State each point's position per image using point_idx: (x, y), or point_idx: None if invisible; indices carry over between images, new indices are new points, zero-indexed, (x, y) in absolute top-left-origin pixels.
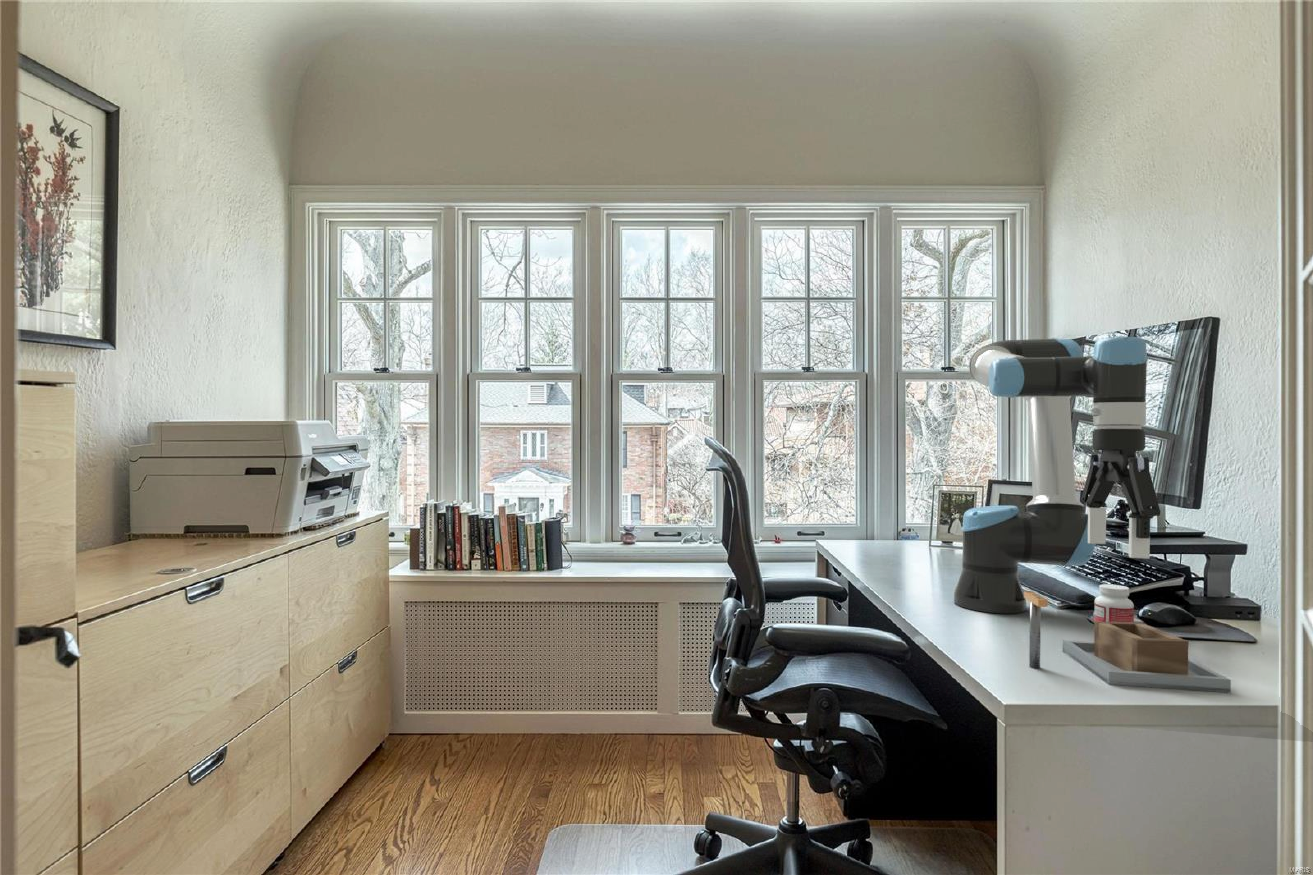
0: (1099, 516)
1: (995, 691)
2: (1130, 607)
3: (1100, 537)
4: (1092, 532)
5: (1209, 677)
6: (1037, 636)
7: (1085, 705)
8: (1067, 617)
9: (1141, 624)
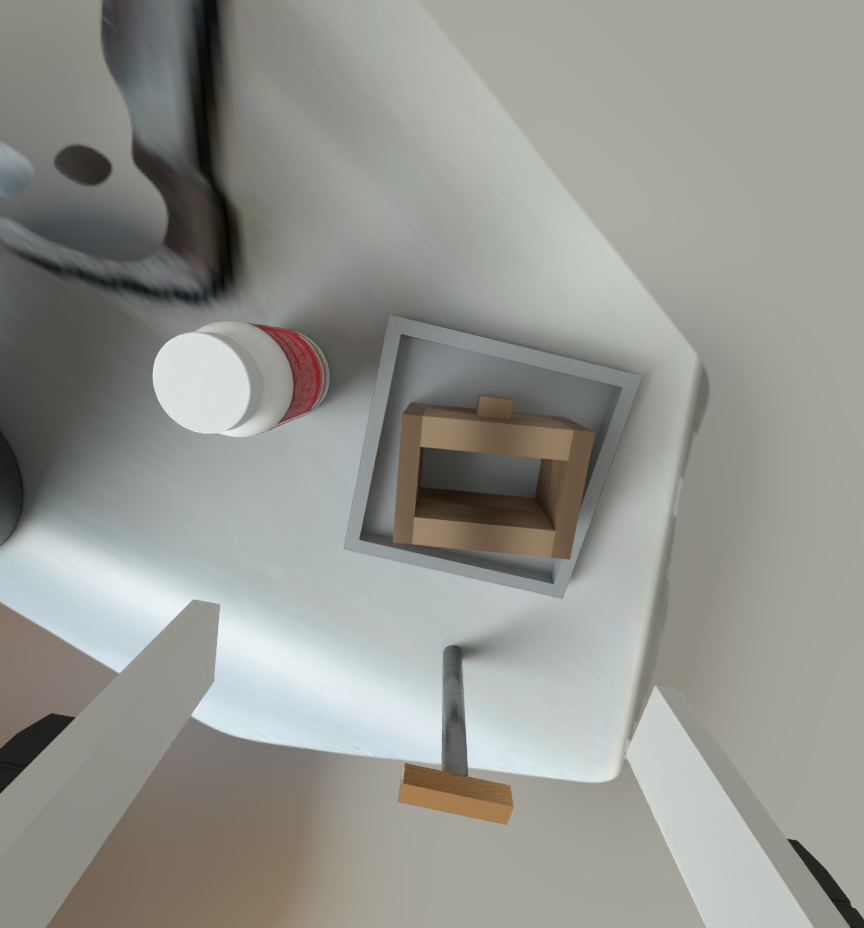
0: (68, 832)
1: (565, 776)
2: (287, 362)
3: (193, 658)
4: (173, 731)
5: (623, 414)
6: (464, 707)
7: (641, 686)
8: (13, 309)
9: (424, 429)
